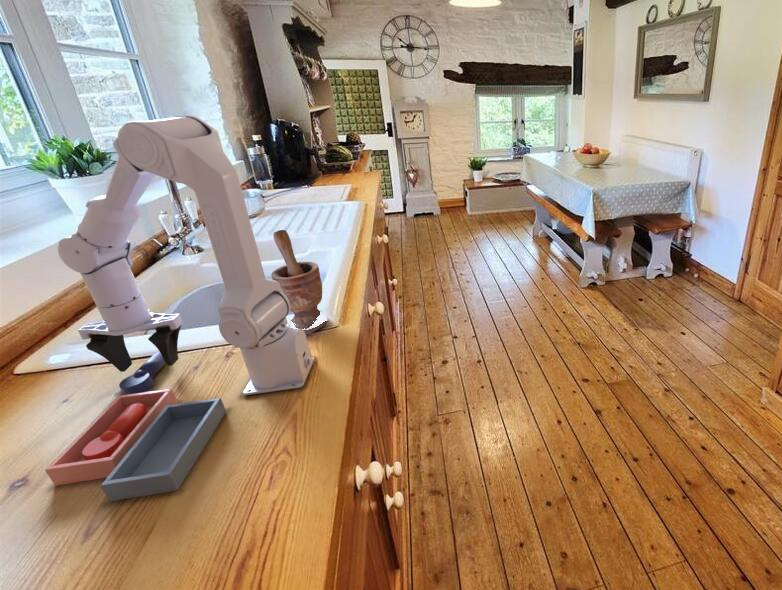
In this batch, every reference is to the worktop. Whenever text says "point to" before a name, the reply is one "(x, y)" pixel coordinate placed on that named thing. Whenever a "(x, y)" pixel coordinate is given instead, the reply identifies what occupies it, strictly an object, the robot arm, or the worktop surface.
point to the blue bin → (165, 450)
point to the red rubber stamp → (115, 433)
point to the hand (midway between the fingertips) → (150, 365)
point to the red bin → (71, 460)
